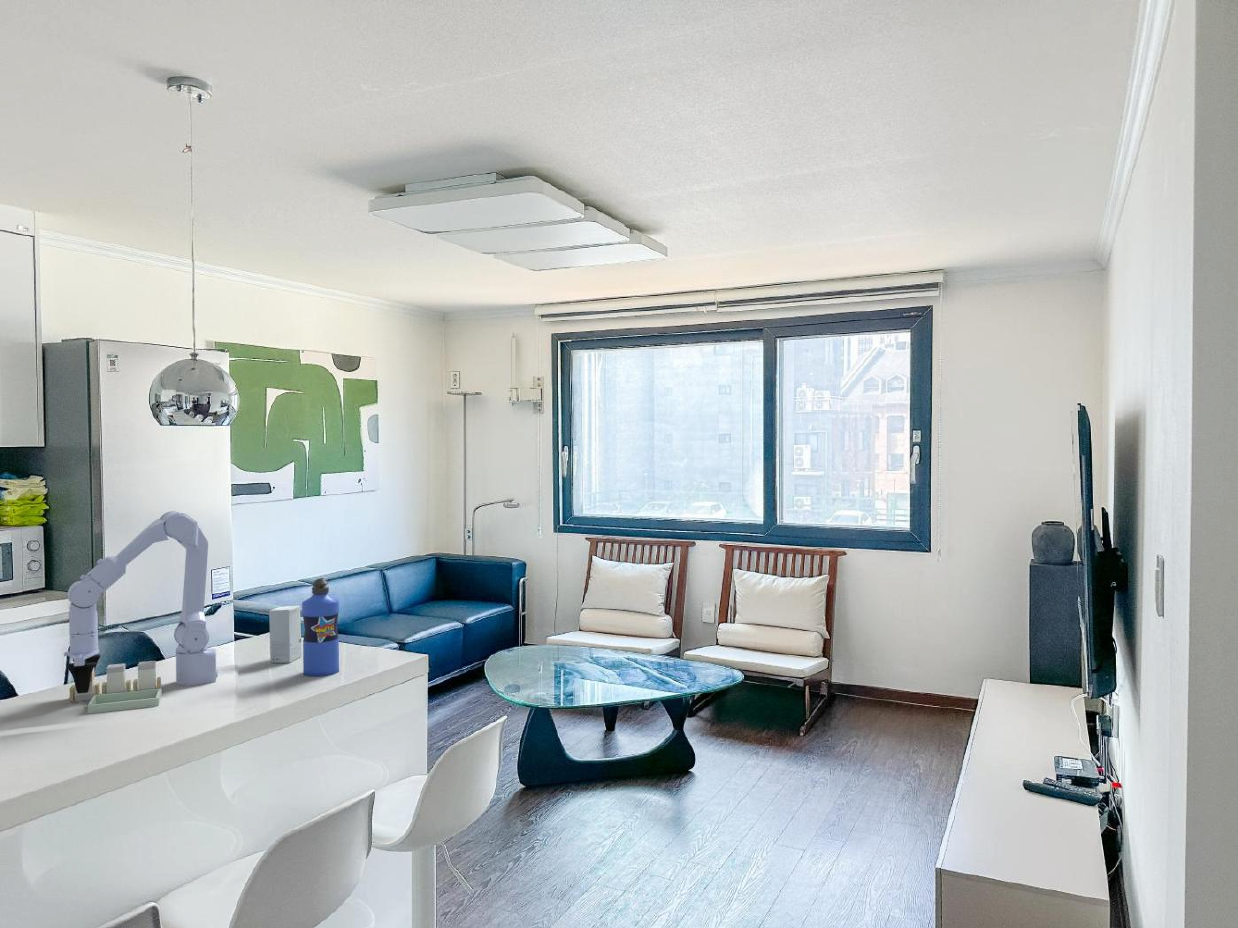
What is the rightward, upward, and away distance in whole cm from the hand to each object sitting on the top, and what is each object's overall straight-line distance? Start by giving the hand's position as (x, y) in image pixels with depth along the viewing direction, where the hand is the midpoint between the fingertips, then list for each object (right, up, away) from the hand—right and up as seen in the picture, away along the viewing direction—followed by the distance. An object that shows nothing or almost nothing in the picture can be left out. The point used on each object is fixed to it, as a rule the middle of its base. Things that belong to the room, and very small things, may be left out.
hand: (84, 689), depth 206 cm
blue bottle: (+47, -3, +27) cm, 54 cm away
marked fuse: (0, -2, 0) cm, 2 cm away
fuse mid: (+6, -2, +3) cm, 7 cm away
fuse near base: (+12, -2, +5) cm, 13 cm away
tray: (+12, -3, -5) cm, 14 cm away
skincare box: (+32, -2, +41) cm, 52 cm away
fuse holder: (+6, -3, +3) cm, 7 cm away
